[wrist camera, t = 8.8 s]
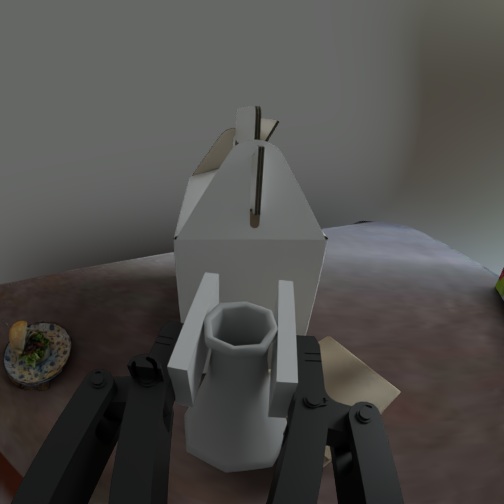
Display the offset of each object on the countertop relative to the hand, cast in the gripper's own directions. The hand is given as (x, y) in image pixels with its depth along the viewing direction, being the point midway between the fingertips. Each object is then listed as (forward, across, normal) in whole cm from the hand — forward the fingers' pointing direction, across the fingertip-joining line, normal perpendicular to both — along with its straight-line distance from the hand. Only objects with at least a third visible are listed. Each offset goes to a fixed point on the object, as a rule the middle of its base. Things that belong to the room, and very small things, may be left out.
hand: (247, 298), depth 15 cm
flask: (-4, 0, -9) cm, 10 cm away
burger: (+3, -27, -18) cm, 33 cm away
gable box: (+19, -3, -18) cm, 26 cm away
